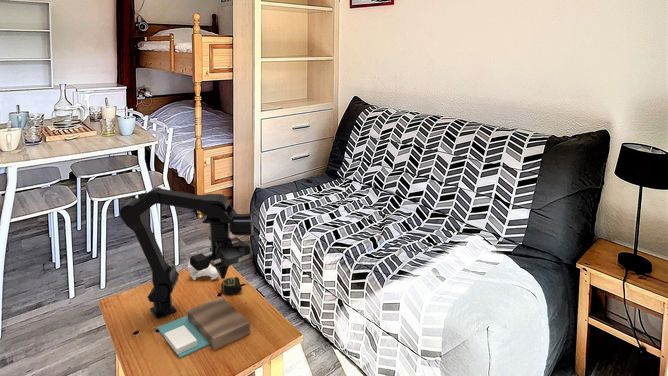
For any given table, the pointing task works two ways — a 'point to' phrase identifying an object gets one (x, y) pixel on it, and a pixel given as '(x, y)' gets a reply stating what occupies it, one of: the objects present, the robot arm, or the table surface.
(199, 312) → the brown flat block
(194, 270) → the white rounded lumpy piece
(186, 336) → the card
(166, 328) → the mat
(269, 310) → the table surface
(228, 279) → the tape measure
